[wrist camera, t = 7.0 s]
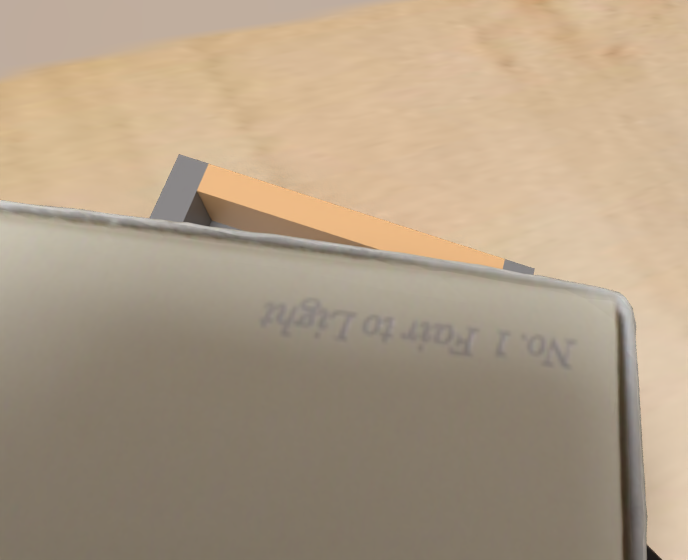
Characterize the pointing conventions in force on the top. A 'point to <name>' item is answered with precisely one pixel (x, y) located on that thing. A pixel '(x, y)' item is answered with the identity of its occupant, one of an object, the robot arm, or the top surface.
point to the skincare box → (304, 400)
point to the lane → (294, 215)
